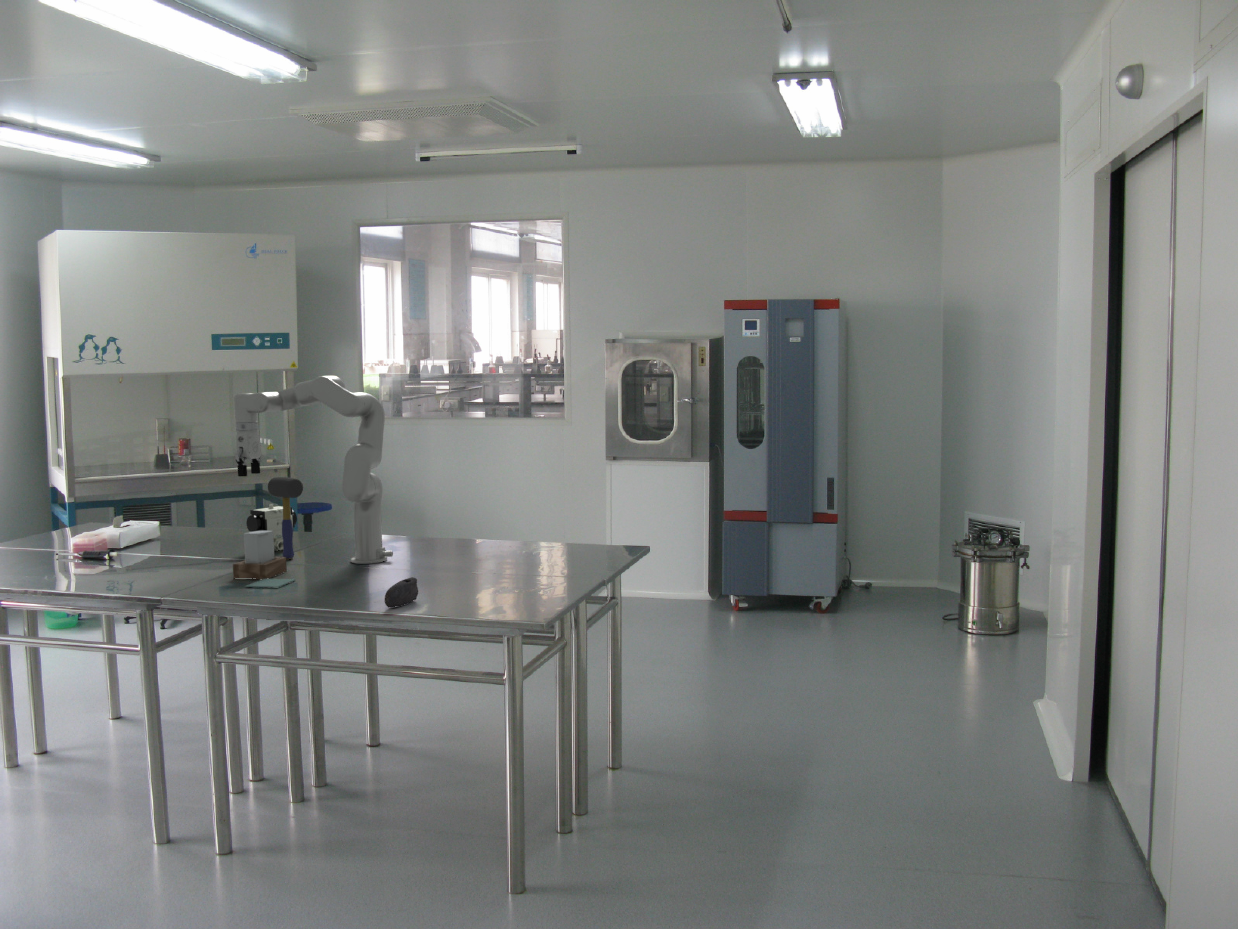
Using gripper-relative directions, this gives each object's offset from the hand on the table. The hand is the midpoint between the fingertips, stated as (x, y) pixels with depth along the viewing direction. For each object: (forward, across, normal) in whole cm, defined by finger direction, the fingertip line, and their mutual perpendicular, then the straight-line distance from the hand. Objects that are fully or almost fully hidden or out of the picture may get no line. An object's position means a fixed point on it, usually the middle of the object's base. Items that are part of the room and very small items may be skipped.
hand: (249, 474), depth 358 cm
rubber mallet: (+31, +1, -13) cm, 34 cm away
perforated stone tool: (+32, -66, -78) cm, 107 cm away
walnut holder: (+31, -28, -16) cm, 45 cm away
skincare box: (+31, -28, -16) cm, 45 cm away
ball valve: (+31, +18, +1) cm, 36 cm away
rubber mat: (+31, -41, -26) cm, 58 cm away
